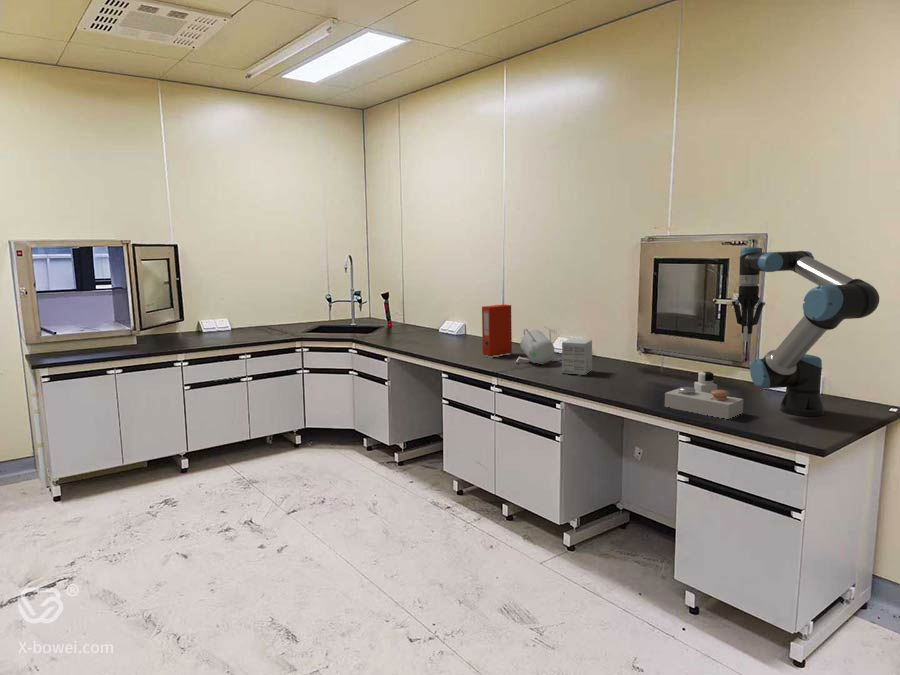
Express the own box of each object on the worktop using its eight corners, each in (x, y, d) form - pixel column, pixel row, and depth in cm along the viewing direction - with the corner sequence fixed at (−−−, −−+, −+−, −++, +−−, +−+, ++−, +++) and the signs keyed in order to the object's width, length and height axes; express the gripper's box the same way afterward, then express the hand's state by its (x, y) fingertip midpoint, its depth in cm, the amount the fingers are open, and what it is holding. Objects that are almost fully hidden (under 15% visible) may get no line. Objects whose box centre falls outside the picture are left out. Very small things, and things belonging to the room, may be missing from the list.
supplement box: (568, 369, 330) (568, 338, 327) (592, 371, 324) (592, 339, 321) (561, 374, 319) (561, 342, 316) (585, 376, 312) (585, 343, 310)
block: (742, 413, 237) (743, 399, 236) (727, 419, 229) (728, 404, 228) (680, 401, 258) (680, 387, 257) (664, 406, 250) (665, 392, 249)
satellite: (532, 339, 330) (571, 339, 339) (517, 322, 346) (554, 322, 355) (523, 374, 340) (560, 372, 350) (508, 355, 356) (544, 354, 366)
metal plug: (697, 405, 248) (698, 388, 247) (689, 408, 244) (690, 391, 243) (683, 403, 253) (684, 386, 252) (675, 406, 249) (675, 388, 248)
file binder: (512, 355, 378) (511, 305, 373) (490, 358, 369) (489, 307, 364) (504, 353, 385) (503, 304, 380) (482, 356, 376) (481, 306, 371)
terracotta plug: (731, 409, 237) (731, 391, 236) (723, 413, 233) (723, 394, 232) (715, 406, 242) (716, 389, 241) (707, 409, 238) (708, 391, 237)
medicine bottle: (709, 396, 264) (710, 370, 262) (717, 400, 257) (718, 373, 255) (693, 397, 264) (694, 370, 262) (700, 401, 257) (701, 374, 255)
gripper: (728, 285, 248) (726, 340, 252) (761, 286, 238) (758, 344, 242) (737, 284, 253) (735, 338, 256) (769, 284, 243) (766, 341, 246)
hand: (746, 341), depth 249 cm, fingers closed
